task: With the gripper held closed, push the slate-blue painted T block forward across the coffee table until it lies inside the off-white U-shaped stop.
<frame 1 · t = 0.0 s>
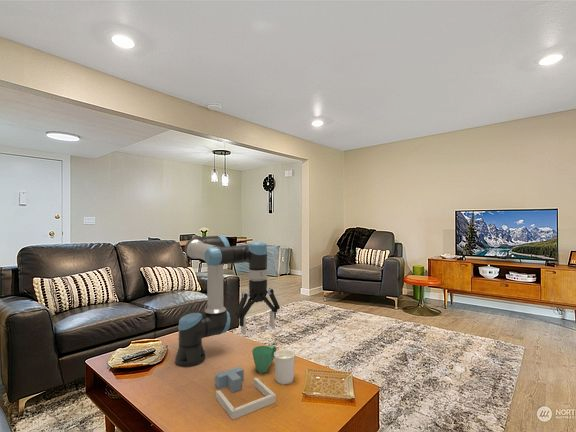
hand: (258, 330, 127), 28 cm above the table, fingers open, 13 cm apart
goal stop: (245, 400, 125), on the table
mug: (265, 368, 152), on the table
candle holder: (284, 380, 141), on the table
t block: (231, 384, 137), on the table
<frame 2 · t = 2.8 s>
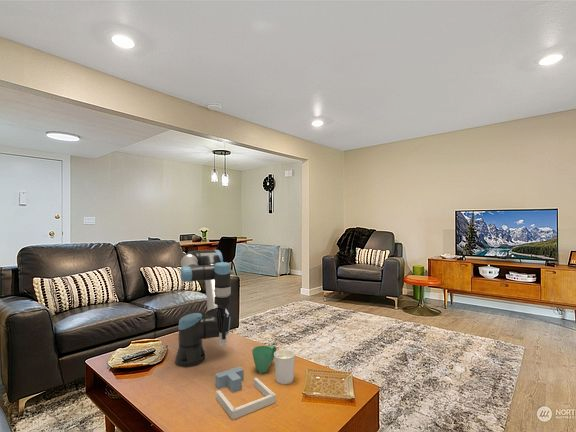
hand: (222, 345, 145), 14 cm above the table, fingers closed
nothing on the table moved.
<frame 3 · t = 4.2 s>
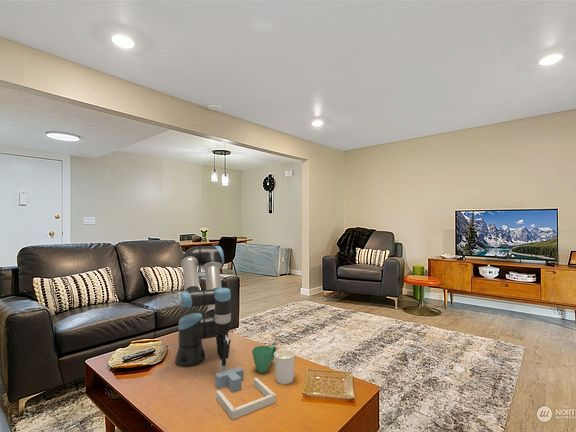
hand: (222, 371, 145), 2 cm above the table, fingers closed
nothing on the table moved.
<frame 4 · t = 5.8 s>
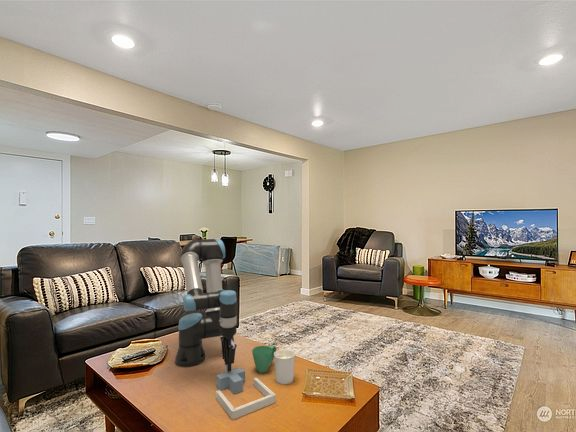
hand: (228, 376, 140), 2 cm above the table, fingers closed
t block: (232, 386, 136), on the table
everything else where it was.
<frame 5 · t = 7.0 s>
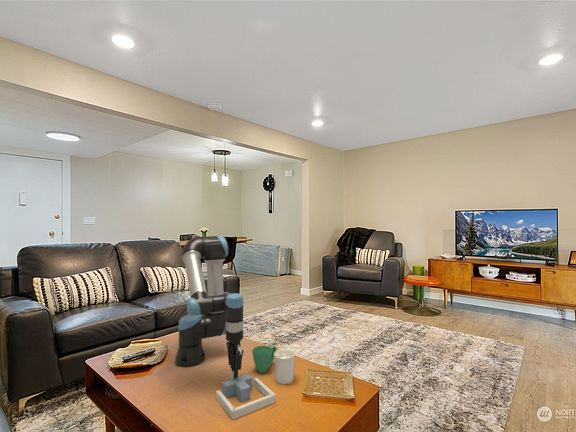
hand: (234, 383, 134), 2 cm above the table, fingers closed
t block: (239, 393, 130), on the table, touching gripper
everything else where it was.
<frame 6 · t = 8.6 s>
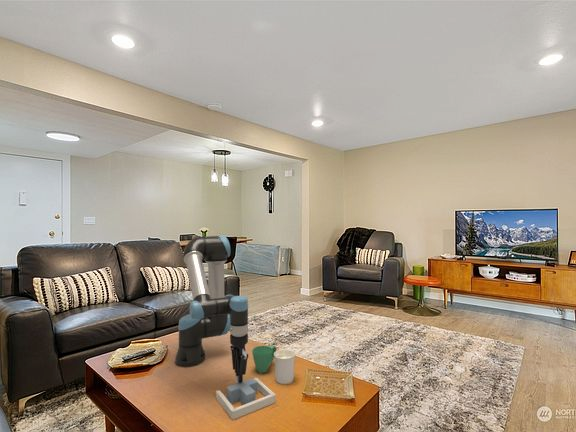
hand: (239, 388, 130), 2 cm above the table, fingers closed
t block: (244, 398, 127), on the table, touching gripper
everything else where it was.
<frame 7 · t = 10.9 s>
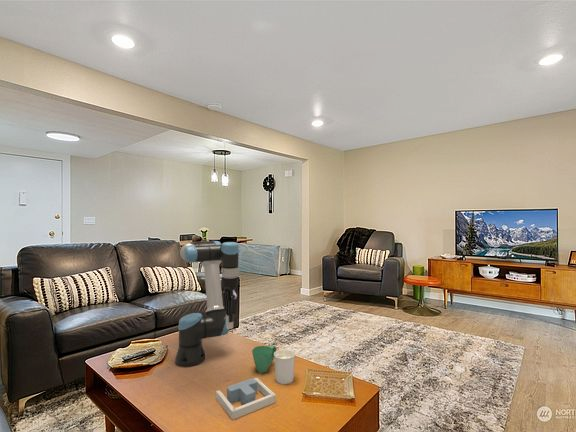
hand: (229, 328, 139), 25 cm above the table, fingers closed
t block: (244, 398, 127), on the table
everything else where it was.
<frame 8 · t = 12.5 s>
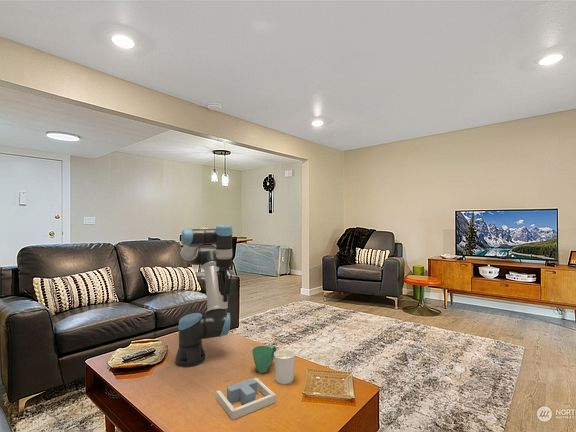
hand: (224, 308, 144), 32 cm above the table, fingers closed
nothing on the table moved.
at the end: t block inside the target area (0.2 cm from its centre), on the table; t block tilted 1° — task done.
